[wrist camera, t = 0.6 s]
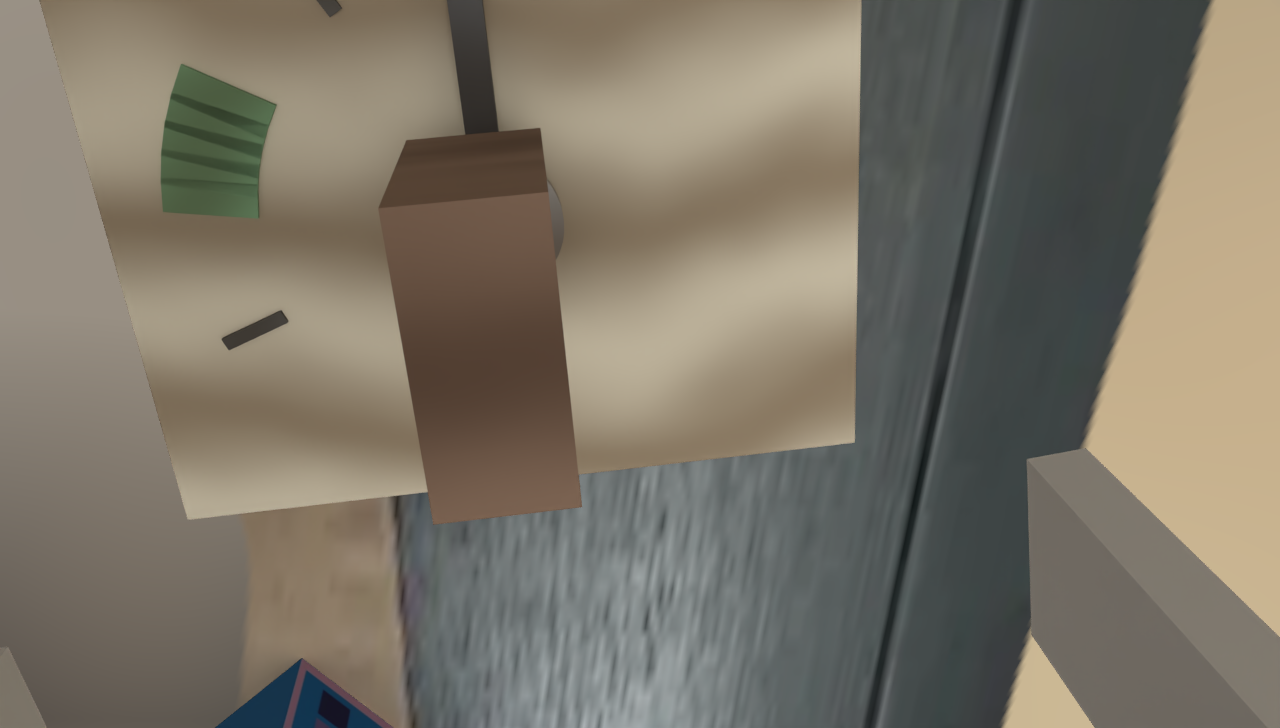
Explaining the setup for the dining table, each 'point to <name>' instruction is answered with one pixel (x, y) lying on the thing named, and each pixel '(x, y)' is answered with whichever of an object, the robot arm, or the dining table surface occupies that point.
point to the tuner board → (575, 166)
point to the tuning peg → (482, 304)
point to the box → (303, 704)
